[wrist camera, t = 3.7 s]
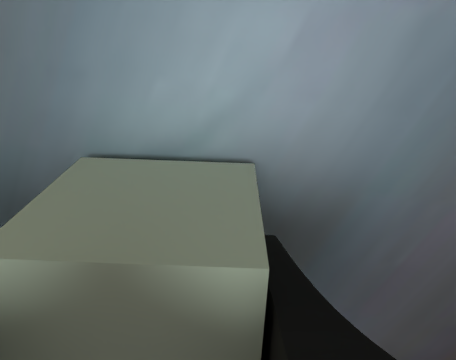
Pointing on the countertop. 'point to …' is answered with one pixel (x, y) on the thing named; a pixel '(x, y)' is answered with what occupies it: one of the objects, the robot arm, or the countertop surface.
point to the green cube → (136, 264)
